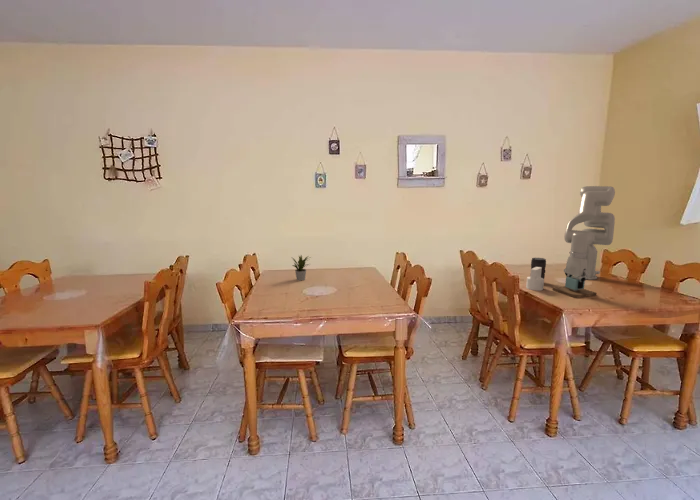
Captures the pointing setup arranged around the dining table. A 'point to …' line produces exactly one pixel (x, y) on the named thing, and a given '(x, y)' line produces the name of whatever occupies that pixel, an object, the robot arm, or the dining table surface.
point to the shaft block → (574, 292)
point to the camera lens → (539, 265)
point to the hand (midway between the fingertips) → (574, 286)
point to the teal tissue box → (573, 282)
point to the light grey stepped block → (535, 279)
